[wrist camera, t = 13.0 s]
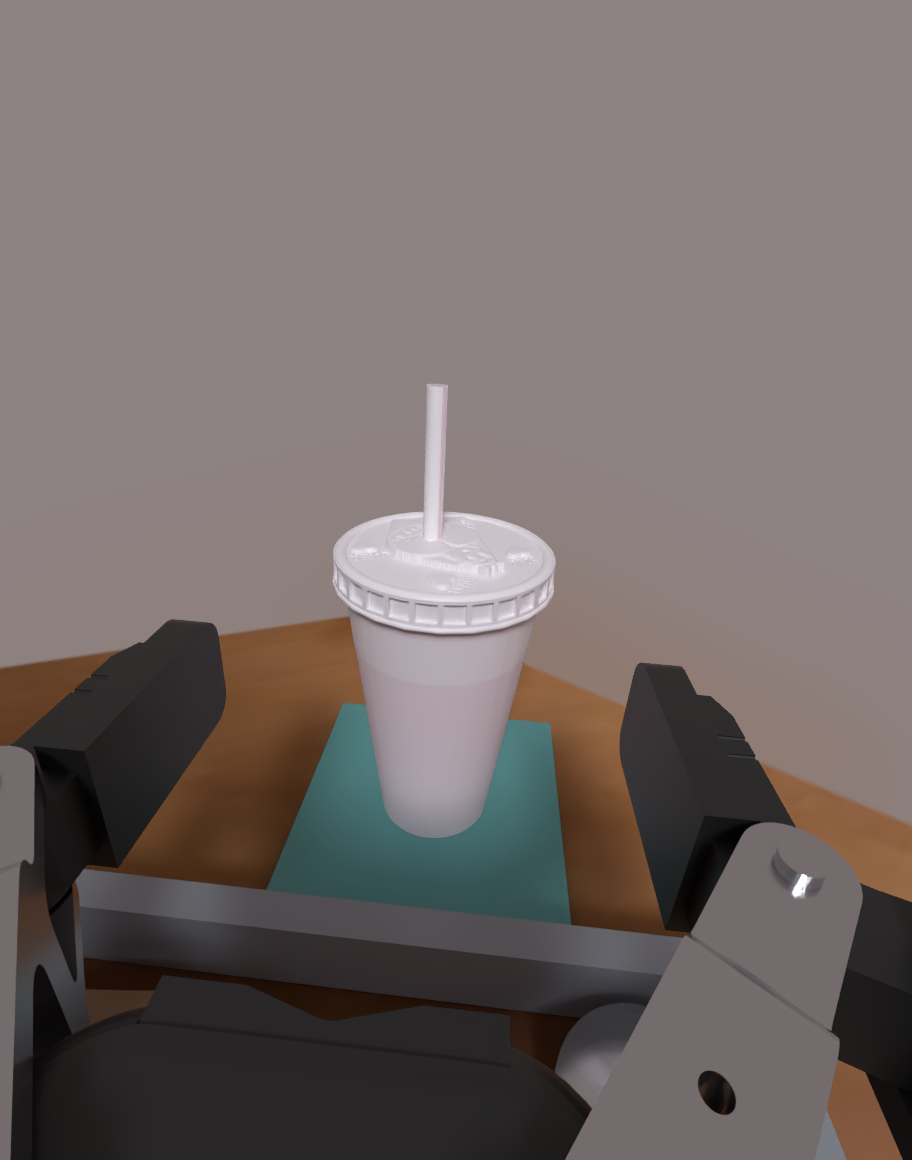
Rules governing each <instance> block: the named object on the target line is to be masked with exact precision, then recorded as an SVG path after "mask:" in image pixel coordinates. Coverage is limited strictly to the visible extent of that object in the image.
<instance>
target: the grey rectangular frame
mask: <svg viewBox="0 0 912 1160" xmlns="http://www.w3.org/2000/svg"><path fill="white" fill-rule="evenodd" d="M75 881H76V884H77V887H78V892H79V902H80V917H81V932H82V947H83V957H84V958H92V959H100V960H108V961H116V962H125V963H133V964H141V965H149V966H157V967H166V968H174V969H182V970H190V971H198V972H206V973H215V974H223V975H231V976H239V977H247V978H256V979H264V980H272V981H280V982H288V983H297V984H305V985H313V986H321V987H329V988H338V989H346V990H354V991H362V992H370V993H378V994H387V995H395V996H403V997H411V998H419V999H428V1000H436V1001H444V1002H452V1003H460V1004H469V1005H477V1006H485V1007H493V1008H501V1009H510V1010H518V1011H526V1012H534V1013H542V1014H550V1015H559V1016H567V1017H575V1018H582V1017H583V1016H584V1015H586V1014H587V1013H589V1012H590V1011H592V1010H594V1009H596V1008H598V1007H601V1006H605V1005H608V1004H614V1003H633V1004H639V1005H644V1006H647V1005H648V1003H649V1001H650V999H651V997H652V995H653V993H654V992H655V990H656V988H657V986H658V984H659V982H660V980H661V978H662V977H663V975H664V973H665V971H666V969H667V967H668V965H669V963H670V962H671V960H672V958H673V956H674V954H675V952H676V950H677V948H678V947H679V945H680V943H681V941H682V939H683V938H680V937H671V936H663V935H654V934H645V933H637V932H628V931H619V930H610V929H602V928H593V927H584V926H576V925H567V924H558V923H549V922H541V921H532V920H523V919H515V918H506V917H497V916H489V915H480V914H471V913H462V912H454V911H445V910H436V909H428V908H419V907H410V906H401V905H393V904H384V903H375V902H367V901H358V900H349V899H340V898H332V897H323V896H314V895H306V894H297V893H288V892H280V891H271V890H262V889H253V888H245V887H236V886H227V885H219V884H210V883H201V882H192V881H184V880H175V879H166V878H158V877H149V876H140V875H132V874H123V873H114V872H105V871H97V870H88V869H84V870H83V871H82V872H81V874H80V875H79V876H78V878H77V879H76V880H75ZM815 1160H847V1159H846V1157H845V1154H844V1152H843V1149H842V1147H841V1144H840V1142H839V1139H838V1137H837V1134H836V1132H835V1129H834V1127H833V1124H832V1122H831V1119H830V1117H829V1114H828V1112H827V1109H826V1113H825V1117H824V1122H823V1126H822V1131H821V1135H820V1140H819V1144H818V1148H817V1153H816V1157H815Z"/></svg>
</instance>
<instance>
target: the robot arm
mask: <svg viewBox="0 0 912 1160" xmlns="http://www.w3.org/2000/svg"><path fill="white" fill-rule="evenodd" d="M91 675H92V676H91V678H87V679H86V680H84V681H83V682H82V683H81V684H80V685H79V686H78V687H77V688H75V692H74V693H70V694H69V695H68V696H66V697H65V698H64V699H63V700H62V701H61V702H60V703H58V704H57V705H56V706H55V707H54V708H53V709H52V710H51V711H49V712H48V713H47V714H46V715H45V716H44V717H43V718H42V719H40V720H39V721H38V722H37V723H36V724H35V725H34V726H33V727H31V728H30V729H29V730H28V731H27V732H26V733H25V734H24V735H22V736H21V737H20V738H19V739H18V740H17V741H16V742H15V743H13V744H12V745H11V746H0V1160H815V1157H816V1153H817V1148H818V1144H819V1140H820V1135H821V1131H822V1126H823V1122H824V1117H825V1113H826V1109H827V1104H828V1100H829V1095H830V1091H831V1086H832V1082H833V1078H834V1073H835V1069H836V1064H837V1059H838V1060H840V1061H842V1062H844V1063H846V1064H849V1065H851V1066H853V1067H855V1068H857V1069H860V1070H862V1071H864V1072H866V1075H867V1077H868V1079H869V1082H870V1084H871V1086H872V1089H873V1091H874V1093H875V1096H876V1098H877V1100H878V1103H879V1105H880V1107H881V1110H882V1112H883V1114H884V1117H885V1119H886V1121H887V1124H888V1126H889V1128H890V1131H891V1133H892V1135H893V1138H894V1140H895V1142H896V1145H897V1147H898V1149H899V1152H900V1154H901V1156H902V1159H903V1160H912V902H909V901H906V900H904V899H901V898H898V897H895V896H892V895H889V894H887V893H884V892H881V891H878V890H875V889H873V888H870V887H868V886H865V885H863V884H861V883H860V882H859V880H858V878H857V876H856V874H855V873H854V871H853V869H852V868H851V867H850V866H849V864H848V863H847V862H846V861H845V860H844V859H843V858H842V857H841V856H840V854H838V853H837V852H836V851H835V850H834V849H833V848H831V847H830V846H829V845H827V844H826V843H825V842H823V841H822V840H820V839H818V838H817V837H815V836H813V835H812V834H810V833H807V832H805V831H803V830H801V829H798V828H796V826H795V825H794V823H793V821H792V819H791V818H790V816H789V814H788V812H787V811H786V809H785V807H784V805H783V804H782V802H781V800H780V798H779V797H778V795H777V793H776V791H775V789H774V788H773V786H772V784H771V782H770V781H769V779H768V777H767V775H766V774H765V772H764V770H763V768H762V767H761V765H760V763H759V761H758V760H755V754H754V753H753V751H752V749H751V747H750V745H749V744H748V742H745V737H744V735H743V733H742V731H741V730H740V728H739V726H738V724H737V723H736V721H735V719H734V717H733V716H732V715H731V714H730V713H729V712H728V711H727V710H725V709H724V708H723V707H722V706H721V705H720V704H719V703H718V702H716V701H715V700H714V699H713V698H712V697H711V696H701V695H697V694H696V692H695V690H694V688H693V686H692V684H691V682H690V680H689V678H688V676H687V674H686V672H685V670H684V669H683V668H682V667H681V666H672V665H660V664H649V663H639V664H638V665H637V667H636V669H635V672H634V675H633V680H632V684H631V688H630V693H629V697H628V701H627V705H626V710H625V714H624V718H623V722H622V727H621V733H620V758H621V763H622V767H623V771H624V775H625V779H626V783H627V786H628V790H629V794H630V798H631V802H632V805H633V809H634V813H635V817H636V821H637V824H638V828H639V832H640V836H641V840H642V843H643V847H644V851H645V855H646V859H647V862H648V866H649V870H650V874H651V878H652V881H653V885H654V889H655V893H656V897H657V900H658V904H659V908H660V912H661V916H662V919H663V923H664V927H665V930H672V931H681V932H687V933H686V935H685V936H684V938H683V939H682V941H681V943H680V945H679V947H678V948H677V950H676V952H675V954H674V956H673V958H672V960H671V962H670V963H669V965H668V967H667V969H666V971H665V973H664V975H663V977H662V978H661V980H660V982H659V984H658V986H657V988H656V990H655V992H654V993H653V995H652V997H651V999H650V1001H649V1003H648V1005H647V1007H646V1009H645V1010H644V1012H643V1014H642V1016H641V1018H640V1020H639V1022H638V1024H637V1025H636V1027H635V1029H634V1031H633V1033H632V1035H631V1037H630V1039H629V1040H628V1042H627V1044H626V1046H625V1048H624V1050H623V1052H622V1054H621V1056H620V1057H619V1059H618V1061H617V1063H616V1065H615V1067H614V1069H613V1071H612V1072H611V1074H610V1076H609V1078H608V1080H607V1082H606V1084H605V1086H604V1087H603V1089H602V1091H601V1093H600V1095H599V1097H598V1099H597V1101H596V1103H595V1104H594V1106H593V1108H591V1107H590V1105H589V1104H588V1103H587V1102H586V1101H585V1100H584V1099H583V1098H582V1097H581V1096H580V1095H579V1094H578V1093H577V1092H576V1091H575V1090H574V1089H573V1088H572V1087H571V1086H570V1085H569V1084H568V1083H567V1082H566V1081H565V1080H564V1079H562V1078H561V1077H560V1076H559V1075H557V1074H556V1073H555V1072H554V1071H552V1070H551V1069H550V1068H549V1067H547V1066H546V1065H544V1064H543V1063H541V1062H539V1061H538V1060H536V1059H534V1058H533V1057H531V1056H530V1055H528V1054H526V1053H524V1052H522V1051H520V1050H517V1049H515V1048H513V1047H511V1046H510V1015H502V1014H494V1013H485V1012H476V1011H468V1010H459V1009H451V1008H442V1007H433V1006H425V1005H422V1006H416V1007H411V1008H405V1009H399V1010H393V1011H388V1012H382V1013H376V1014H370V1015H365V1016H359V1017H353V1018H348V1019H342V1020H334V1021H329V1020H323V1019H320V1018H318V1017H316V1016H313V1015H311V1014H309V1013H307V1012H305V1011H302V1010H300V1009H298V1008H296V1007H294V1006H291V1005H289V1004H287V1003H285V1002H283V1001H281V1000H278V999H276V998H274V997H272V996H270V995H267V994H265V993H263V992H261V991H259V990H257V989H254V988H252V987H250V986H248V985H244V984H235V983H226V982H218V981H209V980H200V979H192V978H183V977H175V976H166V975H162V977H161V979H160V981H159V983H158V985H157V987H156V989H155V991H154V993H153V995H152V997H151V999H150V1001H149V1003H148V1005H147V1007H142V1008H137V1009H133V1010H130V1011H127V1012H123V1013H120V1014H116V1015H113V1016H111V1017H108V1018H106V1019H104V1020H101V1021H99V1022H96V1023H94V1024H91V1023H90V1019H89V1014H88V1008H87V1001H86V991H85V976H84V962H83V947H82V932H81V917H80V902H79V892H78V887H77V884H76V881H75V880H76V879H77V878H78V876H79V875H80V874H81V872H82V871H83V870H84V868H85V867H86V866H87V865H95V866H105V867H114V868H118V867H119V866H120V864H121V863H122V861H123V860H124V858H125V857H126V856H127V854H128V853H129V851H130V850H131V848H132V847H133V845H134V844H135V842H136V841H137V840H138V838H139V837H140V835H141V834H142V832H143V831H144V829H145V828H146V827H147V825H148V824H149V822H150V821H151V819H152V818H153V816H154V815H155V813H156V812H157V811H158V809H159V808H160V806H161V805H162V803H163V802H164V800H165V799H166V797H167V796H168V795H169V793H170V792H171V790H172V789H173V787H174V786H175V784H176V783H177V781H178V780H179V779H180V777H181V776H182V774H183V773H184V771H185V770H186V768H187V767H188V766H189V764H190V763H191V761H192V760H193V758H194V757H195V755H196V754H197V752H198V751H199V750H200V748H201V747H202V745H203V744H204V742H205V741H206V739H207V738H208V736H209V735H210V734H211V732H212V731H213V729H214V728H215V726H216V725H217V723H218V722H219V720H220V718H221V716H222V713H223V710H224V706H225V700H226V687H225V680H224V673H223V666H222V659H221V652H220V644H219V637H218V632H217V629H216V627H215V626H214V625H213V624H212V623H207V622H196V621H184V620H169V621H167V622H166V623H165V624H164V625H163V626H162V627H161V628H160V629H159V630H157V631H156V632H155V633H154V634H153V635H152V636H151V637H150V638H149V639H148V640H147V641H146V642H144V643H137V644H135V645H133V646H131V647H129V648H127V649H125V650H123V651H121V652H119V653H117V654H116V655H114V656H112V657H110V658H109V659H108V660H107V661H106V662H105V663H104V664H102V665H101V666H100V667H99V668H98V669H97V670H96V671H95V672H93V673H92V674H91ZM689 932H690V933H689Z"/></svg>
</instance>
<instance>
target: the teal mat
mask: <svg viewBox="0 0 912 1160" xmlns="http://www.w3.org/2000/svg"><path fill="white" fill-rule="evenodd" d="M267 890H271V891H280V892H288V893H297V894H306V895H314V896H323V897H332V898H340V899H349V900H358V901H367V902H375V903H384V904H393V905H401V906H410V907H419V908H428V909H436V910H445V911H454V912H462V913H471V914H480V915H489V916H497V917H506V918H515V919H523V920H532V921H541V922H549V923H558V924H567V925H571V916H570V907H569V897H568V888H567V879H566V869H565V860H564V850H563V841H562V832H561V822H560V813H559V803H558V794H557V785H556V775H555V766H554V756H553V747H552V738H551V728H550V723H542V722H532V721H522V720H512V719H508V721H507V725H506V729H505V732H504V736H503V740H502V743H501V747H500V751H499V754H498V758H497V762H496V766H495V769H494V773H493V777H492V780H491V784H490V788H489V791H488V795H487V799H486V802H485V806H484V809H483V812H482V814H481V816H480V817H479V818H478V820H477V821H476V822H475V823H474V824H473V825H472V826H471V827H469V828H468V829H466V830H465V831H463V832H461V833H458V834H456V835H453V836H449V837H443V838H426V837H420V836H417V835H414V834H411V833H409V832H407V831H405V830H403V829H401V828H400V827H399V826H397V825H396V824H395V823H394V822H393V821H392V820H391V819H390V817H389V816H388V814H387V812H386V810H385V808H384V804H383V799H382V793H381V788H380V782H379V777H378V771H377V765H376V760H375V754H374V749H373V743H372V738H371V732H370V727H369V721H368V716H367V710H366V705H361V704H350V703H343V705H342V708H341V710H340V712H339V715H338V717H337V720H336V722H335V725H334V727H333V729H332V732H331V734H330V737H329V739H328V742H327V744H326V746H325V749H324V751H323V754H322V756H321V759H320V761H319V763H318V766H317V768H316V771H315V773H314V776H313V778H312V780H311V783H310V785H309V788H308V790H307V793H306V795H305V797H304V800H303V802H302V805H301V807H300V809H299V812H298V814H297V817H296V819H295V822H294V824H293V826H292V829H291V831H290V834H289V836H288V839H287V841H286V843H285V846H284V848H283V851H282V853H281V856H280V858H279V860H278V863H277V865H276V868H275V870H274V873H273V875H272V877H271V880H270V882H269V885H268V887H267Z"/></svg>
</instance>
